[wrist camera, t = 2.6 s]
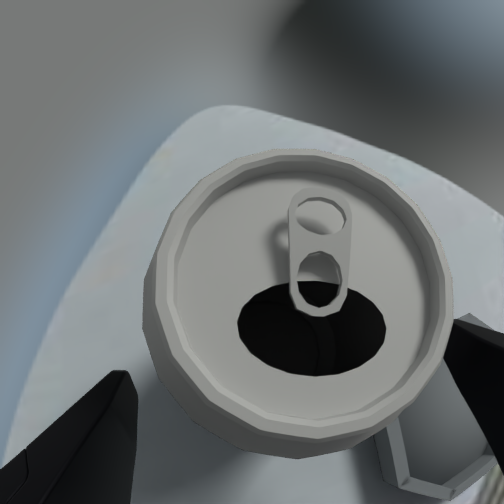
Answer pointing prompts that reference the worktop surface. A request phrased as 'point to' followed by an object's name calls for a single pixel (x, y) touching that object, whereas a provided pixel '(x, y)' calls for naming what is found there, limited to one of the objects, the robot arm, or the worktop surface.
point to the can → (297, 303)
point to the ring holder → (435, 440)
